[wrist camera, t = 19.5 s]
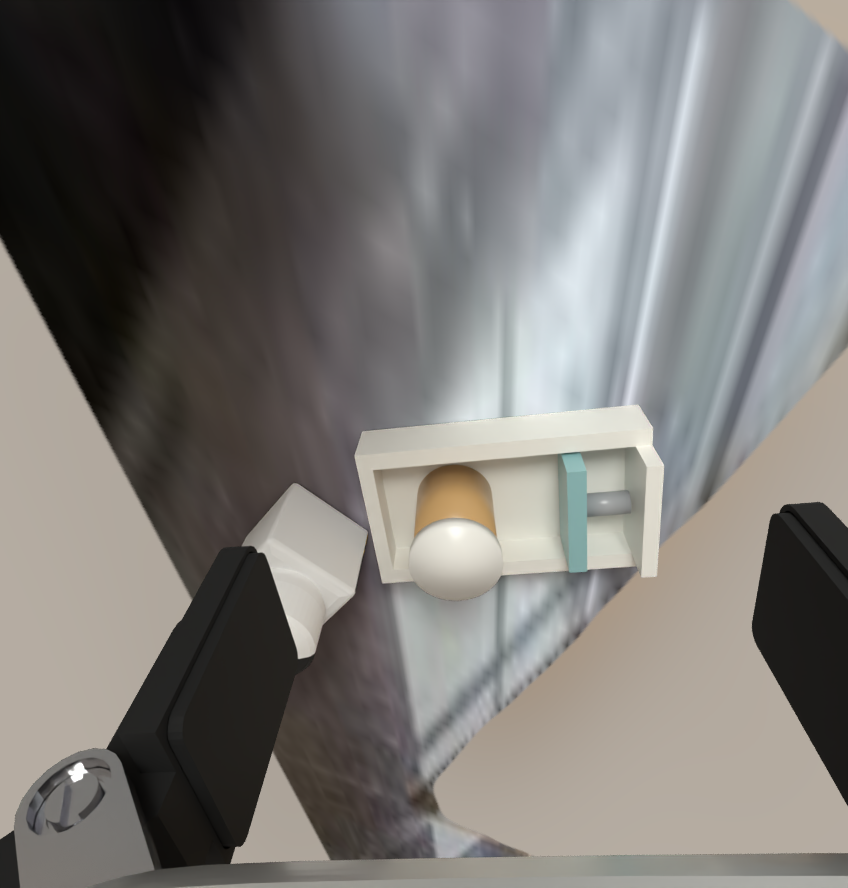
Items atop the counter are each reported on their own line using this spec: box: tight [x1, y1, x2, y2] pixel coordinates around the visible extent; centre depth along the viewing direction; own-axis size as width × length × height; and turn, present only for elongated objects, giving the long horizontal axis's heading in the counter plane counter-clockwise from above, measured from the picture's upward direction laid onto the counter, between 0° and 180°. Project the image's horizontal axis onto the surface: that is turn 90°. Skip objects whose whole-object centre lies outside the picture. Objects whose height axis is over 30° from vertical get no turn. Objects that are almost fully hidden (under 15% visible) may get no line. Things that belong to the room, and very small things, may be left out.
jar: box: [409, 465, 503, 601], centre depth 40 cm, size 6×6×8 cm
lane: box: [355, 405, 664, 583], centre depth 41 cm, size 11×19×6 cm, turn 98°
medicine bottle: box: [242, 483, 368, 675], centre depth 41 cm, size 7×7×12 cm
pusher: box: [558, 452, 632, 573], centre depth 40 cm, size 8×4×4 cm, turn 8°
